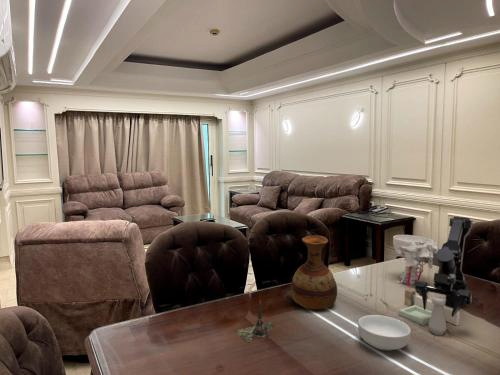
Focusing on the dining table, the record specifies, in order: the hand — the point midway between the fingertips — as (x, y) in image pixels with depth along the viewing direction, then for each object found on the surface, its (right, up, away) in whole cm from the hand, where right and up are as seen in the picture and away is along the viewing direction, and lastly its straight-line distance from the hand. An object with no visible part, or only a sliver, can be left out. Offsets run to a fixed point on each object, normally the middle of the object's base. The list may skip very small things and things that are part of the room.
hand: (438, 312), depth 133 cm
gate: (+6, -6, +16) cm, 18 cm away
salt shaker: (0, -8, +1) cm, 8 cm away
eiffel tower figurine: (-65, -7, -1) cm, 65 cm away
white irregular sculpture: (+15, -4, +55) cm, 57 cm away
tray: (-1, -7, +14) cm, 15 cm away
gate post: (+1, -6, +26) cm, 27 cm away
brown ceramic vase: (-41, -5, +26) cm, 49 cm away
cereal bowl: (-23, -8, -9) cm, 26 cm away
